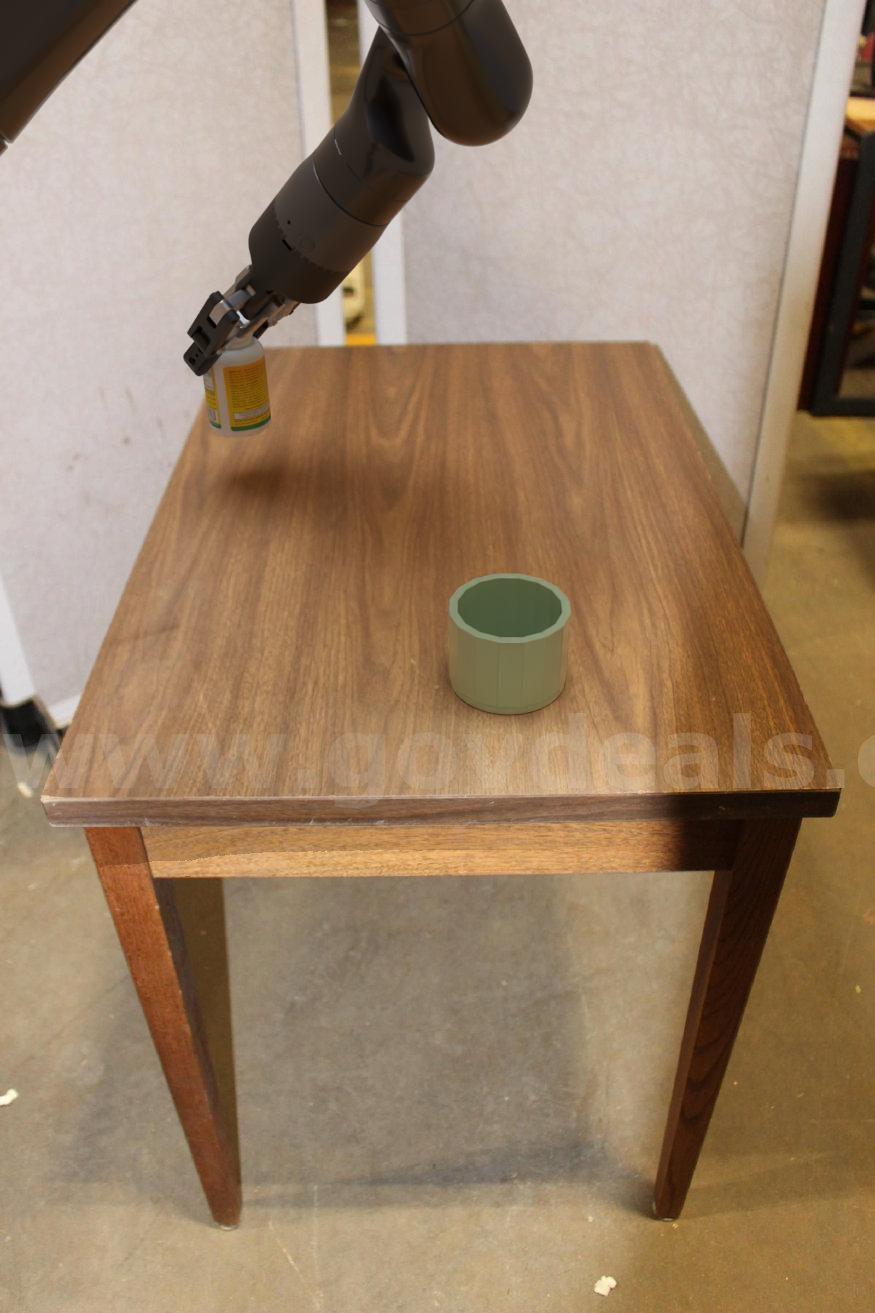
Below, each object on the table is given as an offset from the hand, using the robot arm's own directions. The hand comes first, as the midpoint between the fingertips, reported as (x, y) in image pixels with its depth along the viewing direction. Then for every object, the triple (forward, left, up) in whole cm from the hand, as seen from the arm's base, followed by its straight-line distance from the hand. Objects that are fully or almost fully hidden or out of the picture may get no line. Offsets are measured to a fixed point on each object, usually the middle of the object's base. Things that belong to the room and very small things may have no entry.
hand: (215, 353), depth 91 cm
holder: (+11, -36, -12) cm, 40 cm away
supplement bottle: (+1, -1, -6) cm, 7 cm away
